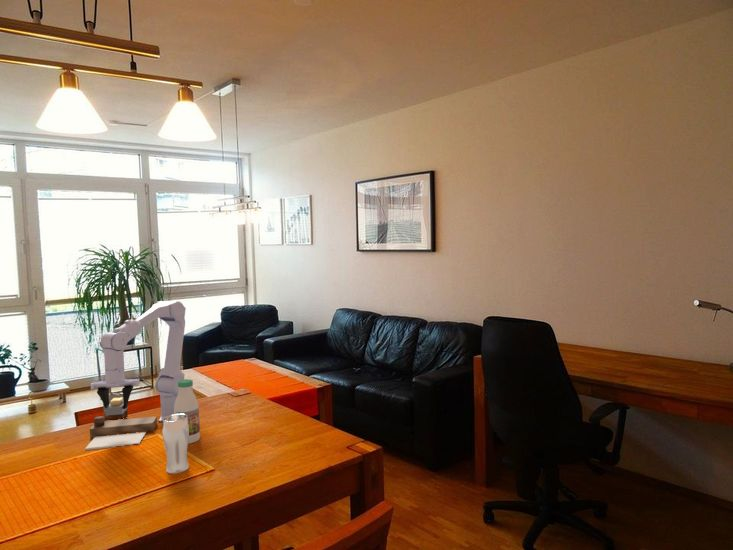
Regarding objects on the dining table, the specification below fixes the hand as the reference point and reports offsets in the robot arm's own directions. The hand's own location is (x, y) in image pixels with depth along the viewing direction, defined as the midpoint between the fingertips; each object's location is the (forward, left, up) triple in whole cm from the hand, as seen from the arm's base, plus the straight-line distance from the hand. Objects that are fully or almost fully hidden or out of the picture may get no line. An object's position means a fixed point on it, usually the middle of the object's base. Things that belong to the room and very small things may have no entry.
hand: (116, 408), depth 162 cm
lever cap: (0, 0, -1) cm, 1 cm away
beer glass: (-23, +30, -11) cm, 39 cm away
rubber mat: (0, +2, -11) cm, 11 cm away
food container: (+8, -23, -11) cm, 27 cm away
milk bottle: (-23, +8, -11) cm, 27 cm away
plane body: (0, -8, -11) cm, 13 cm away
